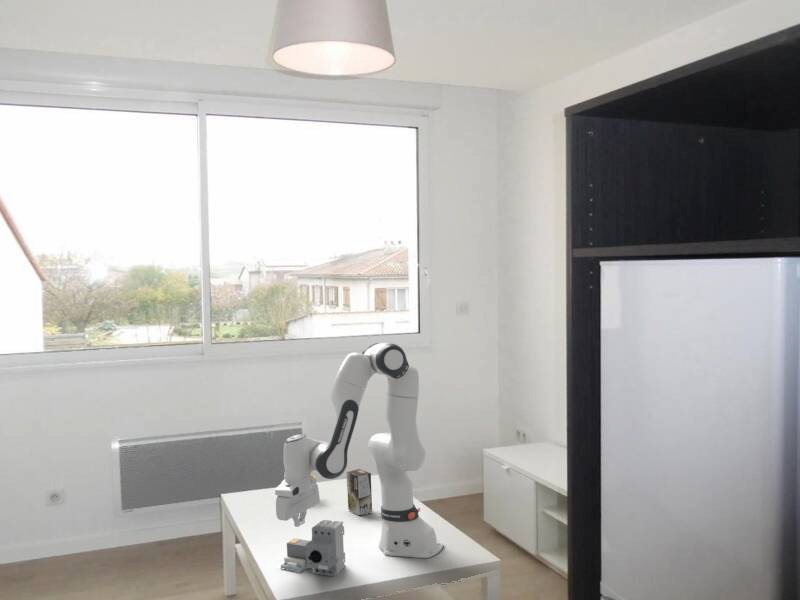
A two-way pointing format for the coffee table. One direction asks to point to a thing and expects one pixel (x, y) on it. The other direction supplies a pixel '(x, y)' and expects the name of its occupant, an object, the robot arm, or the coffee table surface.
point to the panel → (294, 564)
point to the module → (297, 548)
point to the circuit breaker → (326, 548)
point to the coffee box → (359, 491)
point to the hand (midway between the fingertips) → (299, 525)
